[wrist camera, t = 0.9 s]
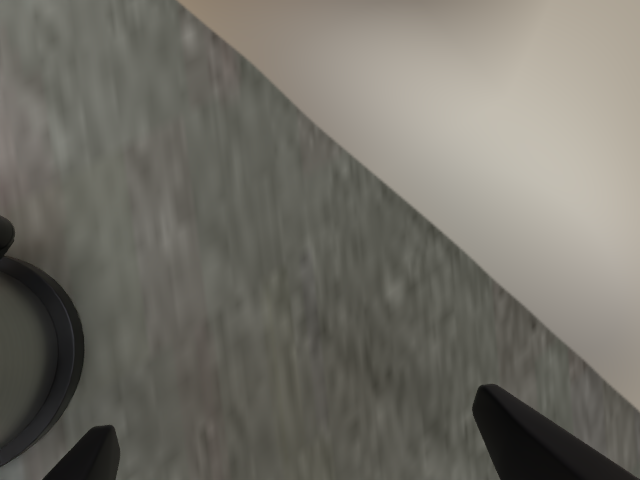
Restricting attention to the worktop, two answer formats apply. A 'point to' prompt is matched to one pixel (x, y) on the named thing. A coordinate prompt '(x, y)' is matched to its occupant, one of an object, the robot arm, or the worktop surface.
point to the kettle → (33, 351)
